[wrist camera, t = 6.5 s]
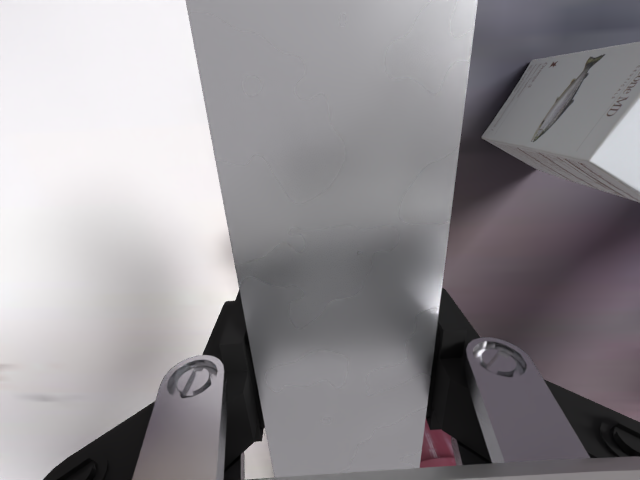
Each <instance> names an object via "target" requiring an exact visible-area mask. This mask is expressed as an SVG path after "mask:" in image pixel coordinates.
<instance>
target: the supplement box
mask: <svg viewBox="0 0 640 480" xmlns="http://www.w3.org/2000/svg"><path fill="white" fill-rule="evenodd" d="M481 138H482V139H484V140H486V141H488V142H489V143H491V144H493V145H495V146H496V147H498V148H500V149H502V150H503V151H505V152H507V153H509V154H510V155H512V156H514V157H516V158H517V159H519V160H521V161H522V162H524V163H526V164H528V165H529V166H531V167H533V168H535V169H537V170H539V171H542V172H545V173H548V174H551V175H554V176H557V177H560V178H563V179H566V180H569V181H572V182H575V183H579V184H582V185H585V186H588V187H591V188H595V189H598V190H601V191H605V192H608V193H611V194H614V195H617V196H620V197H624V198H627V199H630V200H633V201H636V202H639V203H640V42H635V43H630V44H624V45H618V46H612V47H606V48H601V49H595V50H589V51H583V52H577V53H572V54H565V55H560V56H554V57H548V58H543V59H536V60H532V61H531V62H530V64H529V66H528V67H527V69H526V71H525V72H524V74H523V76H522V77H521V79H520V81H519V82H518V84H517V85H516V87H515V88H514V90H513V92H512V93H511V95H510V96H509V98H508V99H507V101H506V102H505V103H504V105H503V106H502V108H501V109H500V111H499V112H498V114H497V115H496V117H495V118H494V120H493V121H492V123H491V124H490V125H489V127H488V128H487V130H486V131H485V132H484V134H483V135H482V137H481Z"/></svg>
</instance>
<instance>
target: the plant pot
mask: <svg viewBox="0 0 640 480" xmlns="http://www.w3.org/2000/svg"><path fill="white" fill-rule="evenodd" d="M442 466H456V462H455V457H454V453H453V448H452V444H451V436H450V435H449V434H447V433H446V432H444V431H442V429H440V430H430V428H429V426H428V423H427V420H425V428H424V436H423V444H422V452H421V460H420V468H426V467H442Z"/></svg>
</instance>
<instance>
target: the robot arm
mask: <svg viewBox="0 0 640 480" xmlns="http://www.w3.org/2000/svg"><path fill="white" fill-rule="evenodd" d="M426 420H427V423H428V426H429V428H430V430H440V429H442V431H444V432H446V433H447V434H449V435H450V436H451V444H452V448H453V453H454V457H455V462H456V466H442V467H426V468H411V469H395V470H380V471H365V472H350V473H335V474H320V475H305V476H290V477H276V478H263V479H249V480H640V422H638V421H636V420H633V419H631V418H629V417H627V416H624V415H622V414H620V413H618V412H616V411H613V410H611V409H609V408H607V407H604V406H602V405H600V404H598V403H595V402H593V401H591V400H589V399H586V398H584V397H582V396H580V395H578V394H575V393H573V392H571V391H569V390H566V389H564V388H562V387H560V386H557V385H555V384H553V383H551V382H548V381H546V380H544V379H543V378H542V376H541V374H540V373H539V371H538V369H537V368H536V366H535V364H534V363H533V361H532V360H531V358H530V357H529V356H528V355H527V354H526V353H525V352H524V351H523V350H521V349H520V348H519V347H517V346H515V345H513V344H511V343H510V342H507V341H504V340H501V339H497V338H491V337H483V338H480V337H479V335H478V334H477V333H476V331H475V330H474V328H473V327H472V326H471V324H470V323H469V322H468V320H467V319H466V317H465V316H464V315H463V313H462V312H461V310H460V309H459V308H458V306H457V305H456V304H455V302H454V301H453V299H452V298H451V297H450V295H449V294H448V292H447V291H446V290H445V289H443V288H442V291H441V299H440V307H439V315H438V323H437V331H436V339H435V347H434V355H433V363H432V371H431V379H430V387H429V396H428V404H427V412H426ZM264 428H265V424H264V418H263V413H262V408H261V402H260V397H259V392H258V386H257V381H256V375H255V370H254V365H253V359H252V354H251V349H250V343H249V338H248V332H247V327H246V322H245V316H244V311H243V306H242V300H241V295H240V289H239V292H238V295H237V297H236V300H235V301H227V302H225V303H224V305H223V307H222V310H221V312H220V314H219V317H218V319H217V322H216V324H215V326H214V329H213V331H212V333H211V336H210V338H209V340H208V343H207V345H206V348H205V350H204V352H203V355H199V356H194V357H191V358H188V359H186V360H184V361H182V362H180V363H178V364H177V365H175V366H174V367H173V368H172V369H170V370H169V372H168V373H167V374H166V375H165V376H164V378H163V380H162V382H161V384H160V388H159V391H158V394H157V398H156V401H155V402H153V403H152V404H150V405H149V406H147V407H145V408H144V409H142V410H141V411H139V412H138V413H136V414H135V415H133V416H132V417H130V418H128V419H127V420H125V421H124V422H122V423H121V424H119V425H118V426H116V427H115V428H113V429H111V430H110V431H108V432H107V433H105V434H104V435H102V436H101V437H99V438H98V439H96V440H95V441H93V442H91V443H90V444H88V445H87V446H85V447H84V448H82V449H81V450H79V451H78V452H76V453H74V454H73V455H71V456H70V457H68V458H67V459H65V460H64V461H63V462H62V463H60V464H59V465H58V466H56V467H55V468H54V469H53V470H52V471H51V472H50V473H49V474H48V475H47V476H46V477H45V478H44V479H43V480H244V451H245V450H246V449H247V448H248V447H249V446H250V445H251V444H253V443H254V442H256V441H262V436H263V429H264Z"/></svg>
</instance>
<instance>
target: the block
mask: <svg viewBox="0 0 640 480" xmlns="http://www.w3.org/2000/svg"><path fill="white" fill-rule="evenodd" d="M477 1H478V0H186V5H187V10H188V15H189V21H190V26H191V31H192V37H193V42H194V48H195V53H196V58H197V64H198V69H199V74H200V80H201V85H202V91H203V96H204V101H205V107H206V112H207V117H208V123H209V128H210V134H211V139H212V144H213V150H214V155H215V160H216V166H217V171H218V177H219V182H220V187H221V193H222V198H223V203H224V209H225V214H226V220H227V225H228V230H229V236H230V241H231V246H232V252H233V257H234V263H235V268H236V273H237V279H238V284H239V289H240V295H241V300H242V306H243V311H244V316H245V322H246V327H247V332H248V338H249V343H250V349H251V354H252V359H253V365H254V370H255V375H256V381H257V386H258V392H259V397H260V402H261V408H262V413H263V418H264V424H265V429H266V435H267V440H268V445H269V451H270V456H271V461H272V467H273V472H274V478H276V477H290V476H305V475H320V474H335V473H350V472H365V471H380V470H395V469H411V468H420V460H421V452H422V444H423V436H424V428H425V420H426V412H427V404H428V396H429V387H430V379H431V371H432V363H433V355H434V347H435V339H436V331H437V323H438V315H439V307H440V299H441V291H442V283H443V275H444V267H445V259H446V251H447V243H448V235H449V227H450V218H451V210H452V202H453V194H454V186H455V178H456V170H457V162H458V154H459V146H460V138H461V130H462V122H463V114H464V106H465V98H466V90H467V82H468V74H469V66H470V58H471V49H472V41H473V33H474V25H475V17H476V9H477Z"/></svg>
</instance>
